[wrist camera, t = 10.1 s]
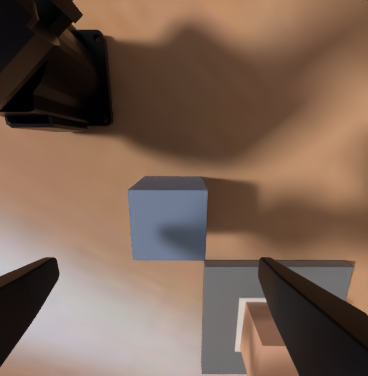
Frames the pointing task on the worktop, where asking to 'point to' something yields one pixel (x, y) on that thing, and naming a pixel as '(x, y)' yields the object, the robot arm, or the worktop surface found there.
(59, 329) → the worktop surface
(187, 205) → the blue cube
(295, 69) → the worktop surface
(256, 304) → the terracotta block
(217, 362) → the board
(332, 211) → the worktop surface
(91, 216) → the worktop surface
